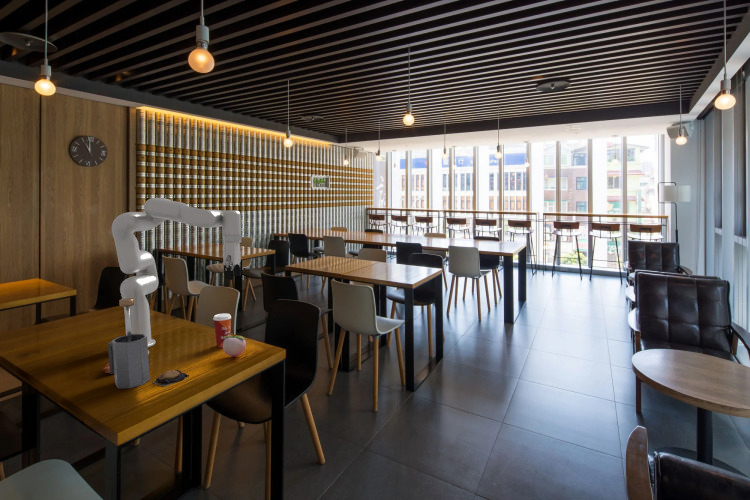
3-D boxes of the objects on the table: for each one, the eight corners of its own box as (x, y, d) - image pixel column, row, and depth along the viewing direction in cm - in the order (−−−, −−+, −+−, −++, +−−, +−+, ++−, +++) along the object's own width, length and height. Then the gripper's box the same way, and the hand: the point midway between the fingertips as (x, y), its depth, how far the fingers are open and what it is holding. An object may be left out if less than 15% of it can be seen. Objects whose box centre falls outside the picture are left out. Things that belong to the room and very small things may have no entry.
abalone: (163, 389, 134) (163, 379, 133) (150, 383, 138) (149, 373, 138) (192, 378, 143) (191, 368, 142) (179, 372, 147) (178, 363, 147)
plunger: (112, 354, 133) (108, 302, 131) (126, 346, 141) (123, 297, 139) (134, 354, 133) (130, 302, 131) (147, 346, 141) (144, 297, 139)
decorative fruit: (219, 361, 156) (218, 337, 155) (225, 354, 165) (224, 331, 164) (243, 360, 157) (242, 336, 156) (248, 353, 165) (247, 330, 164)
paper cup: (226, 349, 170) (224, 318, 169) (210, 347, 172) (209, 317, 170) (236, 343, 178) (234, 313, 176) (221, 342, 179) (219, 312, 178)
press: (102, 388, 133) (99, 343, 131) (121, 376, 143) (118, 334, 141) (138, 388, 133) (135, 343, 131) (154, 376, 143) (151, 334, 141)
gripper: (229, 237, 177) (231, 274, 179) (216, 240, 160) (218, 281, 162) (246, 237, 177) (247, 274, 179) (234, 240, 160) (236, 281, 162)
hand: (233, 277), depth 170 cm, fingers open, 9 cm apart
